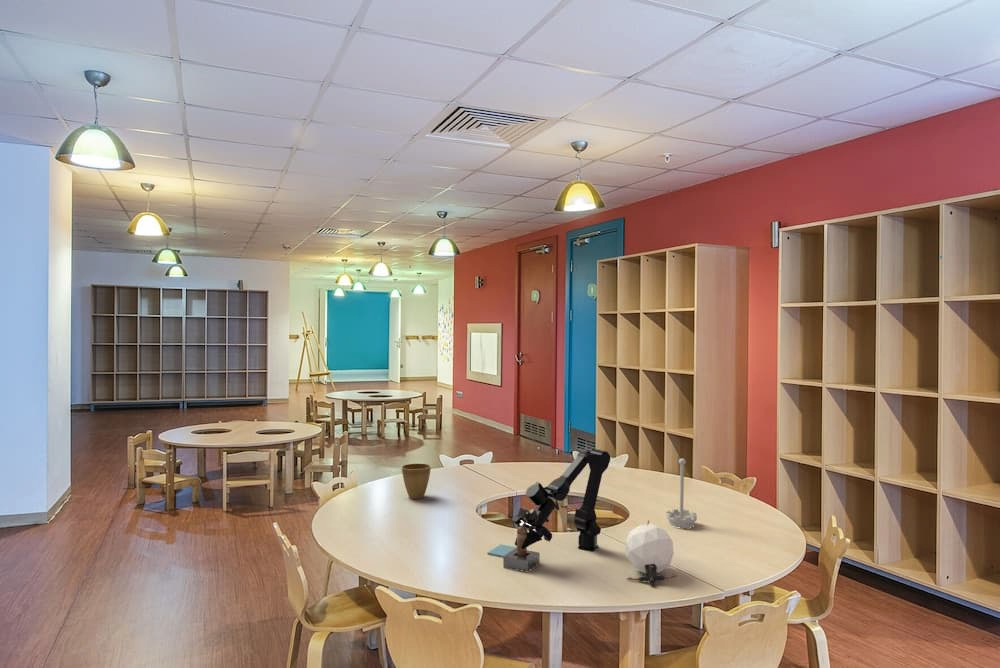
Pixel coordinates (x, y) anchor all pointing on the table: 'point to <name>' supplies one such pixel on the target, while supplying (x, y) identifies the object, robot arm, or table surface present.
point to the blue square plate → (501, 550)
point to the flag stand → (681, 507)
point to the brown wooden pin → (521, 541)
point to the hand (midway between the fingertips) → (518, 546)
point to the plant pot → (416, 479)
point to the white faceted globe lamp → (649, 552)
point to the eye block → (521, 560)
